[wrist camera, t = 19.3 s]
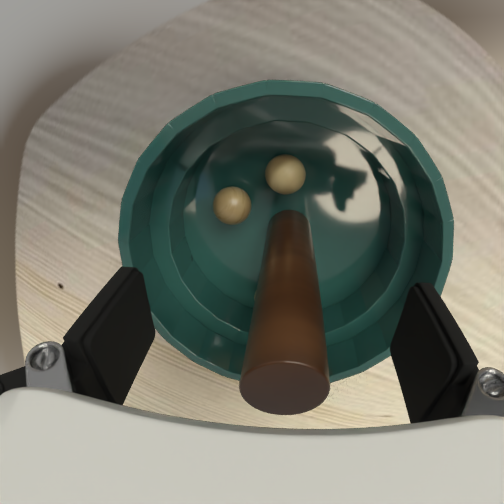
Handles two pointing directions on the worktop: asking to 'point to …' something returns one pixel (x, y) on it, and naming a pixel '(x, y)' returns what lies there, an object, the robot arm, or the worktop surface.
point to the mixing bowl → (270, 202)
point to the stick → (286, 324)
